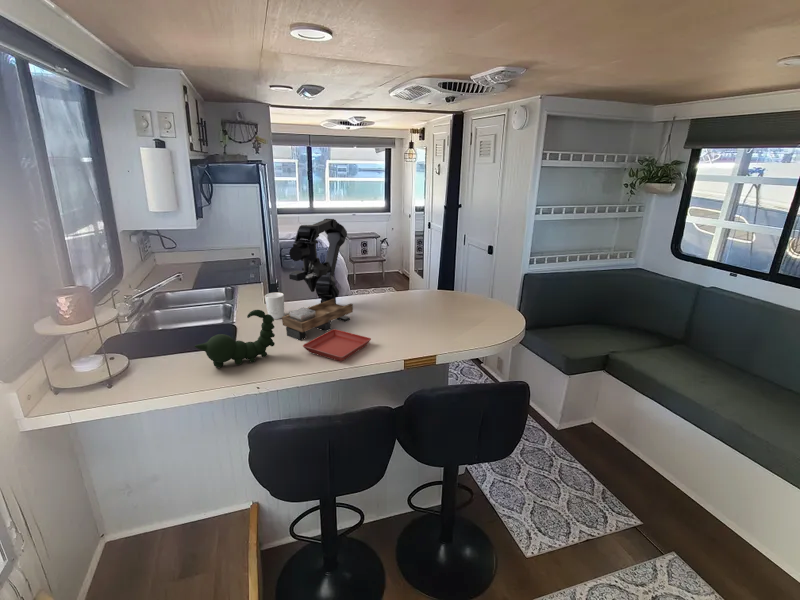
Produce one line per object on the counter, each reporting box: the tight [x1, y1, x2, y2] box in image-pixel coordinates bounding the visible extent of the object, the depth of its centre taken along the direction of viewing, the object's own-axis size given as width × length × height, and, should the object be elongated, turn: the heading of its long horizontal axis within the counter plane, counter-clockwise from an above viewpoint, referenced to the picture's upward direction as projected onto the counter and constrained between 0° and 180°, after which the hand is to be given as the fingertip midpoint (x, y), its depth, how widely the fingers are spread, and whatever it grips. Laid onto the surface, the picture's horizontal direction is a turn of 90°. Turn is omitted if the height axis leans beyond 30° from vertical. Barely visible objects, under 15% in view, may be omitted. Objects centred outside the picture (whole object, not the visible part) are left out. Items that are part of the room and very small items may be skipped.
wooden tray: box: [281, 299, 354, 332], centre depth 171 cm, size 27×13×4 cm, turn 142°
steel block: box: [288, 306, 316, 322], centre depth 164 cm, size 7×7×4 cm
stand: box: [285, 315, 351, 341], centre depth 172 cm, size 27×10×4 cm, turn 142°
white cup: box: [264, 292, 285, 320], centre depth 184 cm, size 8×8×10 cm
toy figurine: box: [194, 309, 276, 368], centre depth 141 cm, size 9×19×25 cm
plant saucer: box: [302, 328, 372, 362], centre depth 153 cm, size 18×18×3 cm
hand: (312, 291), depth 179 cm, fingers closed
